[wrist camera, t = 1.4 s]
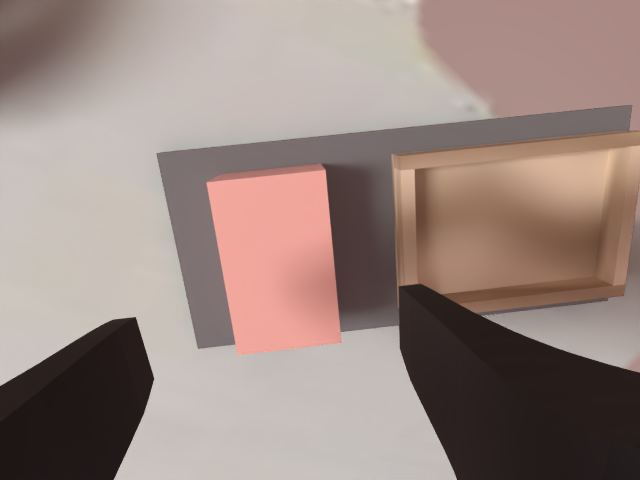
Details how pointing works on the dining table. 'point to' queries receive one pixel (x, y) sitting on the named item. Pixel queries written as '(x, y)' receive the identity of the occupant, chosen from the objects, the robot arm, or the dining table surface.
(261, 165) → the mat
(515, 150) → the tray
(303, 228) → the card deck
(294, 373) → the dining table surface
